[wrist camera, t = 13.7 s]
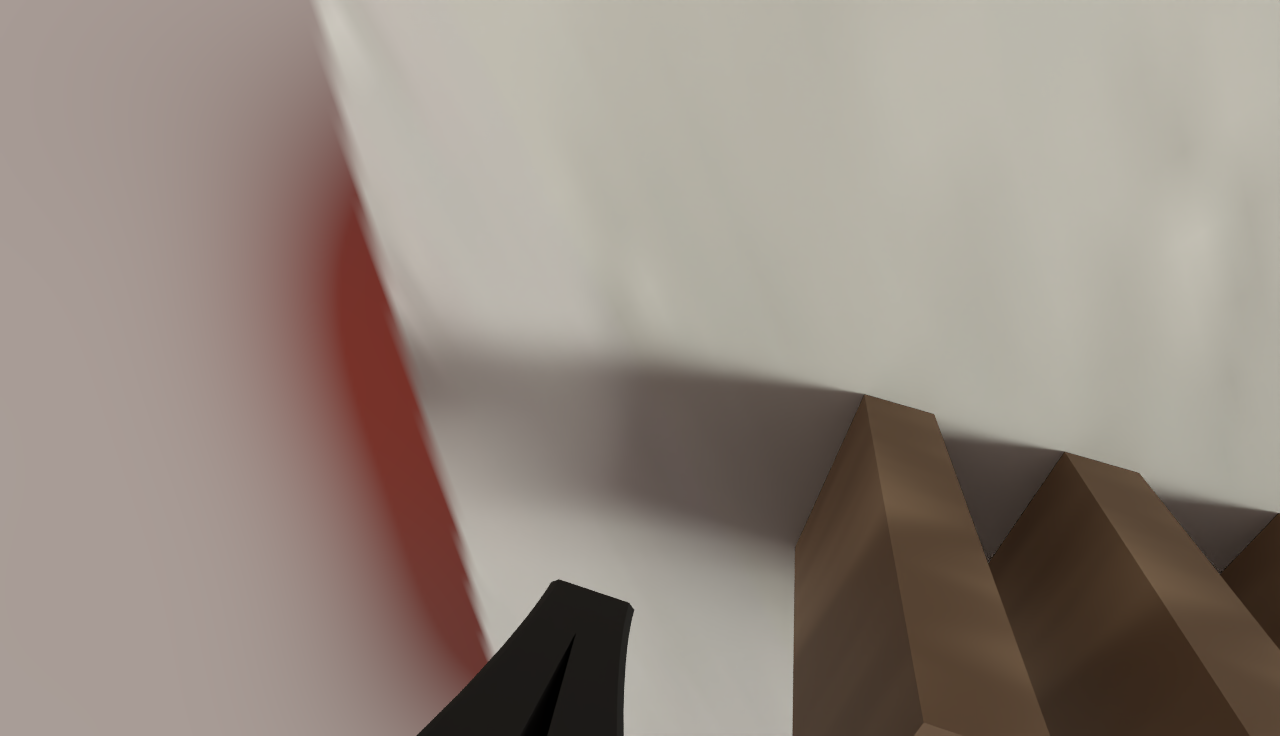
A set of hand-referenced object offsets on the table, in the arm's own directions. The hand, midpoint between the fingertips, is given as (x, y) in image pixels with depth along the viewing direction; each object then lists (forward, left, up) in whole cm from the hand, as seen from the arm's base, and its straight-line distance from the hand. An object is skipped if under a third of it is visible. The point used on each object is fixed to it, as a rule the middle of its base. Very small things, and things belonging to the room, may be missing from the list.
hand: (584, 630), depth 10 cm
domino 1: (-4, -4, -6) cm, 8 cm away
